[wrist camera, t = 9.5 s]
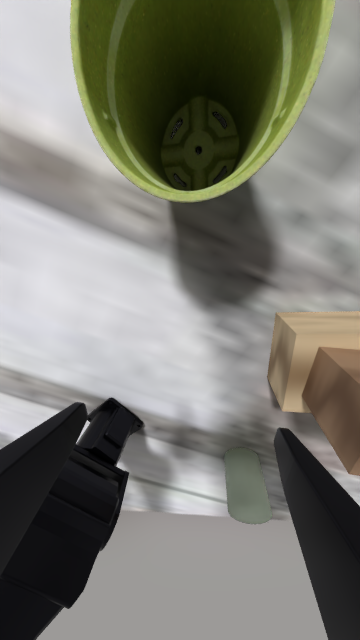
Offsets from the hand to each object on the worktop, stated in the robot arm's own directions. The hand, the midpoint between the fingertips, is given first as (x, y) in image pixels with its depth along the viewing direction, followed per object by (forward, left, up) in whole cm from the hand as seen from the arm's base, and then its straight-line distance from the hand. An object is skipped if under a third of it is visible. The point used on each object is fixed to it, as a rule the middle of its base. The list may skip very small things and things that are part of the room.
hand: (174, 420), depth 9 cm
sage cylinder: (-10, -21, -13) cm, 26 cm away
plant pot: (+10, +10, -13) cm, 19 cm away
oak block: (+7, -11, -13) cm, 18 cm away
